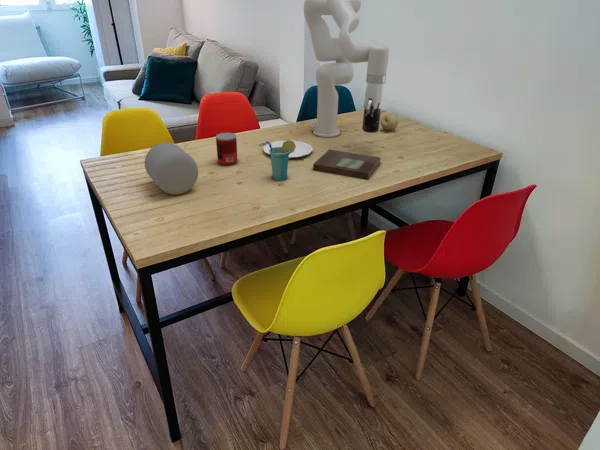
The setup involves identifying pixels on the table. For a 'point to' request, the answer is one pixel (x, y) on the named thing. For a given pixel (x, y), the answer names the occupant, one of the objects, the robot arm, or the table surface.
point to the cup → (280, 158)
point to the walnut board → (347, 164)
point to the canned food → (226, 149)
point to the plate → (299, 150)
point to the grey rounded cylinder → (171, 168)
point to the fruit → (389, 122)
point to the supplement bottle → (375, 121)
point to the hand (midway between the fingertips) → (371, 122)
